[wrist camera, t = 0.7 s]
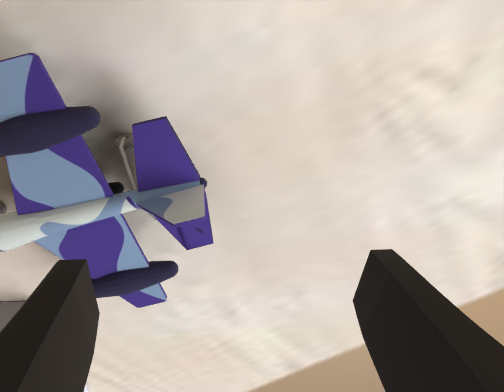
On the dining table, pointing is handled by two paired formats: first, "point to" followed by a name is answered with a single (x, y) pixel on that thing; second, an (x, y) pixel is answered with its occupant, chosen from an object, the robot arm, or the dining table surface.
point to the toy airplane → (92, 186)
